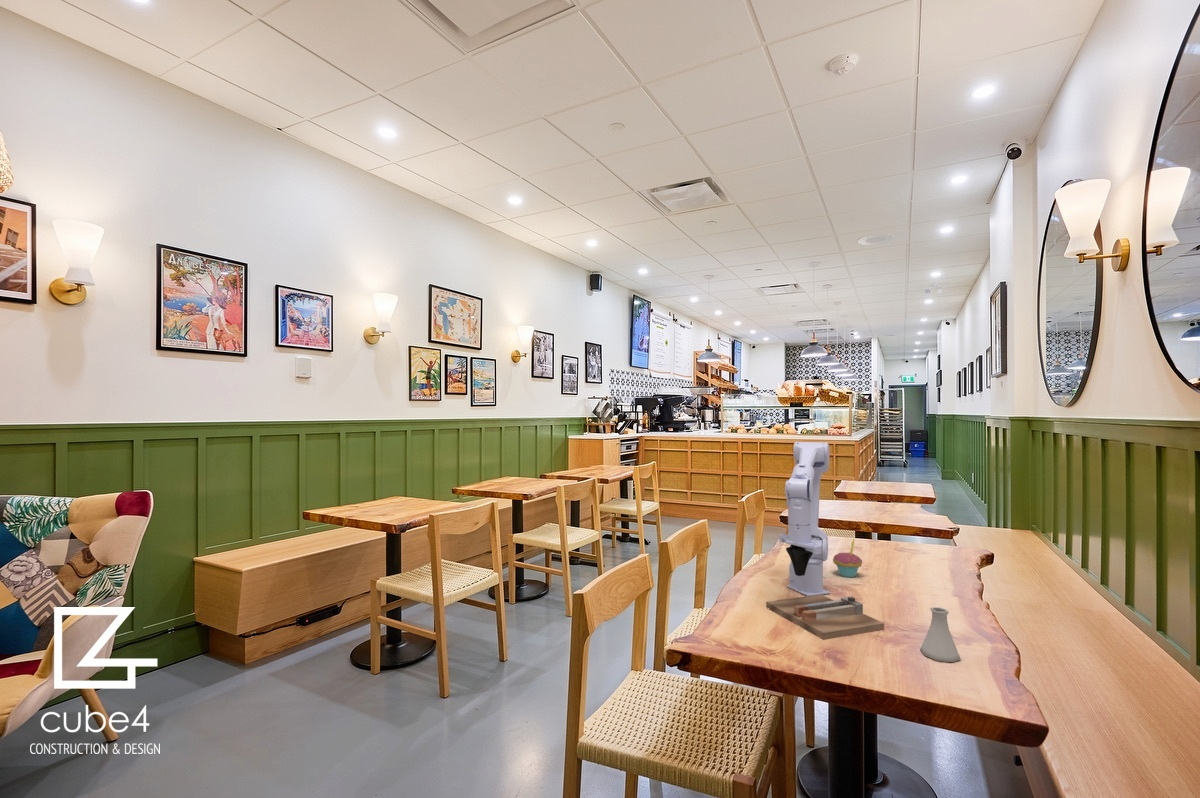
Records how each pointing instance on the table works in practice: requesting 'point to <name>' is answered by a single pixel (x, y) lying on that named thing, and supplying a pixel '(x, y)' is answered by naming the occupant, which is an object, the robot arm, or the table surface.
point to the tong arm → (816, 606)
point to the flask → (939, 638)
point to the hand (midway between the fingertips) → (799, 575)
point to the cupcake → (847, 563)
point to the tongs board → (827, 616)
